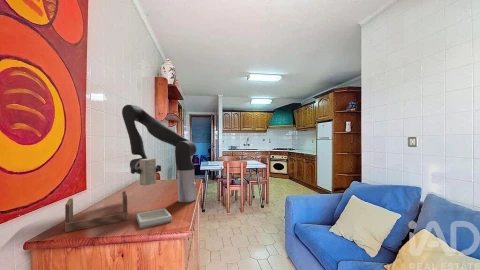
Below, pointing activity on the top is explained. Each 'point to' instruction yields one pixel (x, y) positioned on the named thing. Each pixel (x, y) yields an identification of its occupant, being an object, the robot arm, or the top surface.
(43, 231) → the top surface
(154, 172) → the skincare box
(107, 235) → the top surface
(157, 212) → the dish
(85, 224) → the two-post stand
